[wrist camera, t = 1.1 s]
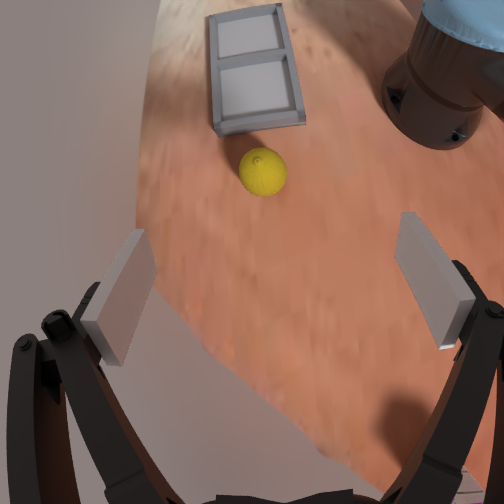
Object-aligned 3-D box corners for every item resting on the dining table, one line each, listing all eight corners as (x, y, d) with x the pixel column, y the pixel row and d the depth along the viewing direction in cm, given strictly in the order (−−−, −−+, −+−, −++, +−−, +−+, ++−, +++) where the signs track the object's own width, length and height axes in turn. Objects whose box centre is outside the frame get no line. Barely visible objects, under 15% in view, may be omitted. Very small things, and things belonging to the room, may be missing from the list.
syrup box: (428, 454, 34) (462, 509, 20) (458, 456, 33) (497, 506, 19) (411, 483, 34) (436, 542, 20) (441, 484, 33) (472, 538, 19)
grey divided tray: (213, 24, 45) (209, 15, 42) (283, 12, 43) (281, 2, 40) (218, 136, 43) (213, 129, 40) (306, 124, 41) (305, 116, 38)
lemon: (242, 166, 42) (228, 143, 34) (284, 157, 41) (278, 132, 33) (249, 206, 41) (236, 191, 33) (292, 198, 40) (288, 179, 32)
